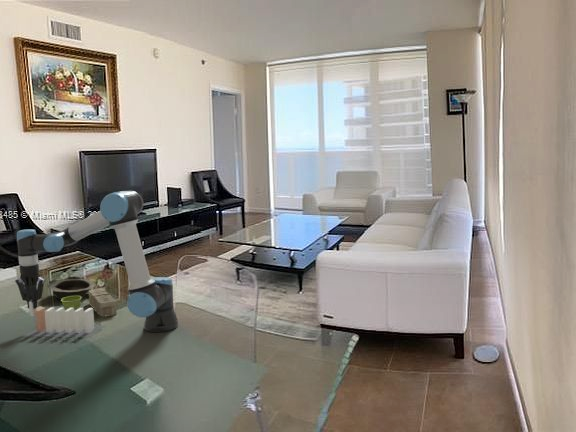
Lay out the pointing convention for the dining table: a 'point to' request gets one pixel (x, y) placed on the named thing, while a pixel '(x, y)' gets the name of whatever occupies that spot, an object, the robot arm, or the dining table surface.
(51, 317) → the domino
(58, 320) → the domino
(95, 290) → the block tower
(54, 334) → the felt runner
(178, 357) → the dining table surface
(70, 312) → the domino
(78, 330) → the domino
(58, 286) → the stone bowl
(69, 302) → the plant pot
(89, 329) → the domino
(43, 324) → the domino
